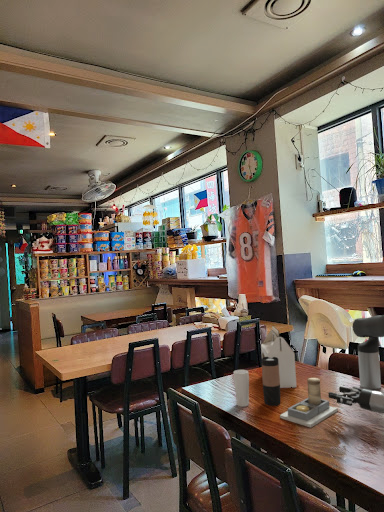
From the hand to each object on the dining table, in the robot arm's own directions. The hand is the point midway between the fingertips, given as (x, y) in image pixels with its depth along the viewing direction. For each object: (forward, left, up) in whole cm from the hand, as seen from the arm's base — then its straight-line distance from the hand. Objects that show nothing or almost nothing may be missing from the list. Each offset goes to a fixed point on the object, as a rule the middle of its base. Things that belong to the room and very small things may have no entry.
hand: (334, 391), depth 156 cm
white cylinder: (-2, -40, -10) cm, 41 cm away
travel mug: (-8, -28, -10) cm, 30 cm away
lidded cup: (-4, -8, -9) cm, 13 cm away
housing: (0, -10, -10) cm, 14 cm away
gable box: (-39, -32, -10) cm, 51 cm away
